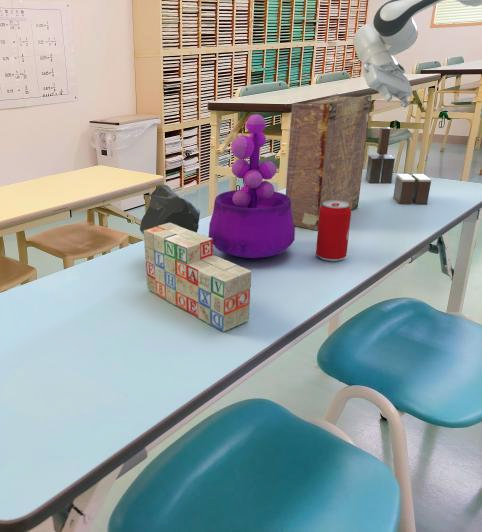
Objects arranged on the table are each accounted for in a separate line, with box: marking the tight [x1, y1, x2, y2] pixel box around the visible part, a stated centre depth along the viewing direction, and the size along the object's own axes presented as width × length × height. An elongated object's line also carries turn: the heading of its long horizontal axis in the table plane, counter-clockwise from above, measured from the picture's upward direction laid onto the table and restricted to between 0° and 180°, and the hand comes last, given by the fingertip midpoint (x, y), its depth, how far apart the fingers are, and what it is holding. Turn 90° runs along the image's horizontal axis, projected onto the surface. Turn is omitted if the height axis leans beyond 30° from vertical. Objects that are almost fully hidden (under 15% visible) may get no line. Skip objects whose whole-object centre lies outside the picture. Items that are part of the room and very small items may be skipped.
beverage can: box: [315, 200, 352, 262], centre depth 110 cm, size 6×6×12 cm
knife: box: [376, 127, 391, 184], centre depth 168 cm, size 2×5×17 cm, turn 169°
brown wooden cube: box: [392, 173, 432, 205], centre depth 147 cm, size 7×7×7 cm
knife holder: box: [365, 154, 396, 184], centre depth 169 cm, size 7×6×8 cm
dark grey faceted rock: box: [139, 184, 201, 236], centre depth 107 cm, size 14×15×18 cm
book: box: [285, 93, 372, 231], centre depth 134 cm, size 25×9×30 cm, turn 137°
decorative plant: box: [208, 114, 296, 259], centre depth 111 cm, size 19×18×30 cm
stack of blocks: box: [143, 223, 252, 333], centre depth 91 cm, size 21×6×12 cm, turn 35°
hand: (397, 102), depth 161 cm, fingers open, 8 cm apart
